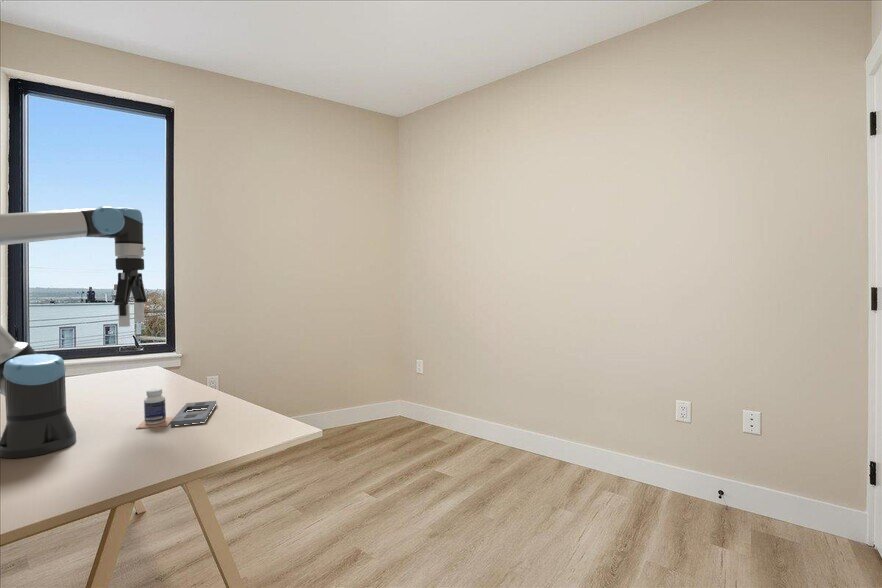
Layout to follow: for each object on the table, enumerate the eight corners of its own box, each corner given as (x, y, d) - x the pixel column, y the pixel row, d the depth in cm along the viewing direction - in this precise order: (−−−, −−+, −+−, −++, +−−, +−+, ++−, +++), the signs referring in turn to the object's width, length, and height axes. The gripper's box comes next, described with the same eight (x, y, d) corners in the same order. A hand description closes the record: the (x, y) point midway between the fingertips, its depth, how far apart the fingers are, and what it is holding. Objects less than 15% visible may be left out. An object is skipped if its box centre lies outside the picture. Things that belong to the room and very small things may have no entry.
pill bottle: (168, 421, 137) (167, 389, 136) (147, 426, 133) (146, 393, 132) (162, 418, 140) (161, 386, 140) (142, 422, 136) (141, 390, 136)
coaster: (167, 426, 134) (167, 424, 134) (136, 429, 132) (136, 427, 132) (174, 418, 142) (174, 416, 142) (145, 420, 139) (145, 419, 139)
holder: (204, 423, 136) (204, 418, 136) (170, 426, 133) (170, 421, 133) (216, 405, 155) (216, 400, 155) (186, 407, 152) (186, 402, 152)
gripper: (129, 256, 134) (132, 328, 135) (155, 258, 158) (157, 320, 159) (99, 256, 132) (102, 329, 133) (130, 258, 156) (132, 320, 157)
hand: (132, 324), depth 146 cm, fingers open, 13 cm apart
